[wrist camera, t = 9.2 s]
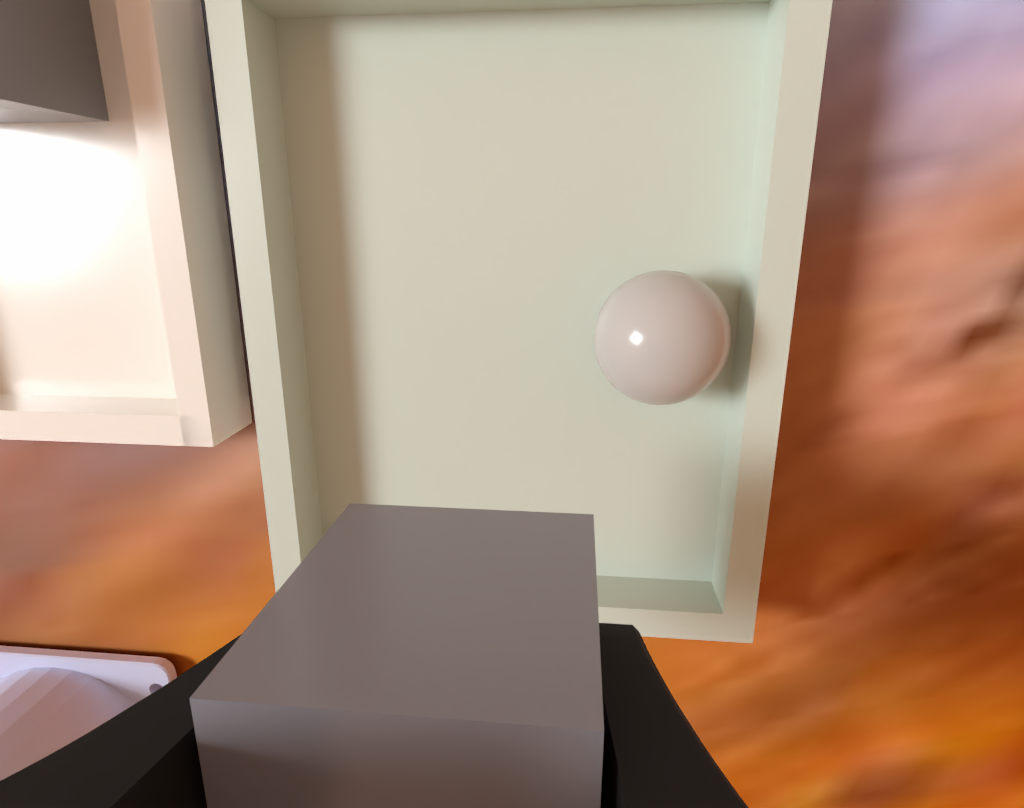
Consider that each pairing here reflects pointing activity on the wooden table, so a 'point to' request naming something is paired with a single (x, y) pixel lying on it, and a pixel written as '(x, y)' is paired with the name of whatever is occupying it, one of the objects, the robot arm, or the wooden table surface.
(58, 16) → the grey cube
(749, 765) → the wooden table surface
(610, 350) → the pale pink ball
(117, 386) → the dish
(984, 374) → the wooden table surface
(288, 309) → the bin
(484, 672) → the grey cube
